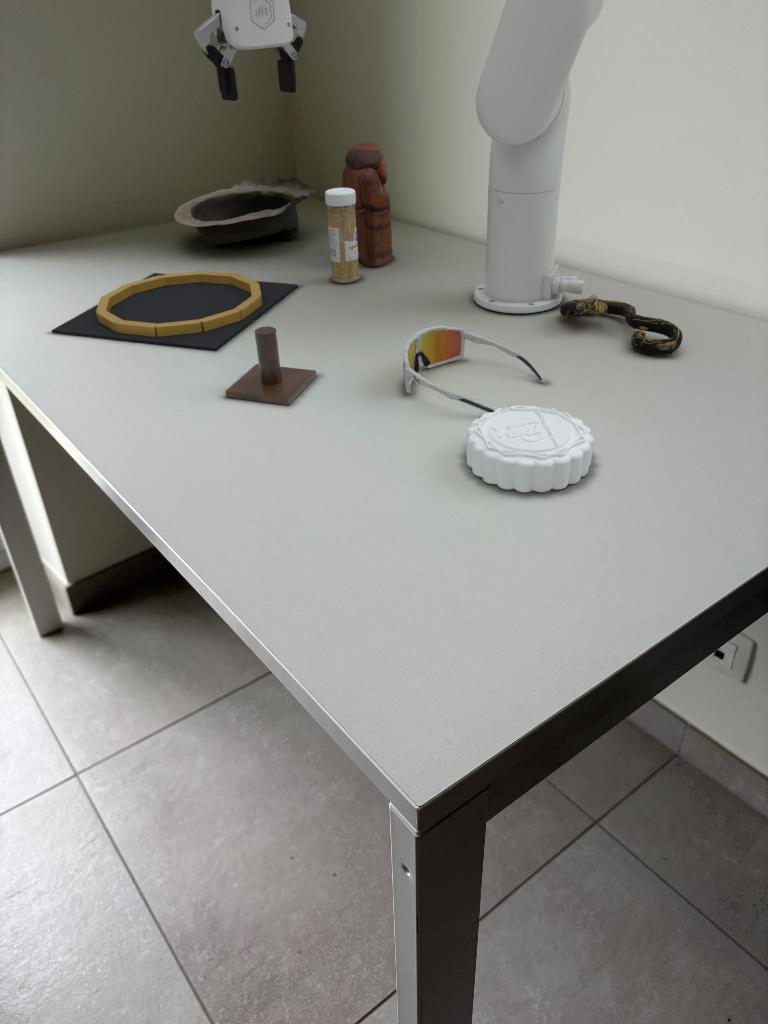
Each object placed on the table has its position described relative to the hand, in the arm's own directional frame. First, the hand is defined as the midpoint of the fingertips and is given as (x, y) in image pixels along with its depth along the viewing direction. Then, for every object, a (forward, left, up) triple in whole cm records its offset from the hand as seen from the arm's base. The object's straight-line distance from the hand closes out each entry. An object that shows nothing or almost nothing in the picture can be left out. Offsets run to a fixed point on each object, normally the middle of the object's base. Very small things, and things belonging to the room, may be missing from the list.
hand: (259, 95), depth 112 cm
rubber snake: (-53, +10, -26) cm, 60 cm away
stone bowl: (+16, -20, -26) cm, 37 cm away
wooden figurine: (-10, -15, -26) cm, 32 cm away
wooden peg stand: (-16, +36, -26) cm, 47 cm away
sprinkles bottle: (-10, -3, -26) cm, 28 cm away
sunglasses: (-38, +30, -26) cm, 55 cm away
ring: (+9, +15, -26) cm, 31 cm away
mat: (+9, +15, -26) cm, 32 cm away
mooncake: (-48, +45, -26) cm, 71 cm away
